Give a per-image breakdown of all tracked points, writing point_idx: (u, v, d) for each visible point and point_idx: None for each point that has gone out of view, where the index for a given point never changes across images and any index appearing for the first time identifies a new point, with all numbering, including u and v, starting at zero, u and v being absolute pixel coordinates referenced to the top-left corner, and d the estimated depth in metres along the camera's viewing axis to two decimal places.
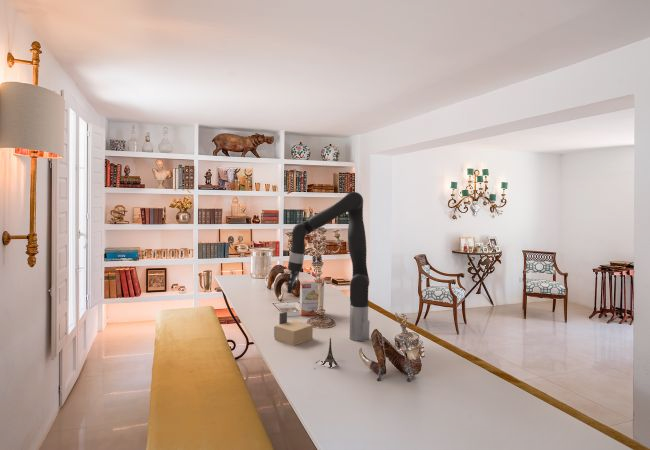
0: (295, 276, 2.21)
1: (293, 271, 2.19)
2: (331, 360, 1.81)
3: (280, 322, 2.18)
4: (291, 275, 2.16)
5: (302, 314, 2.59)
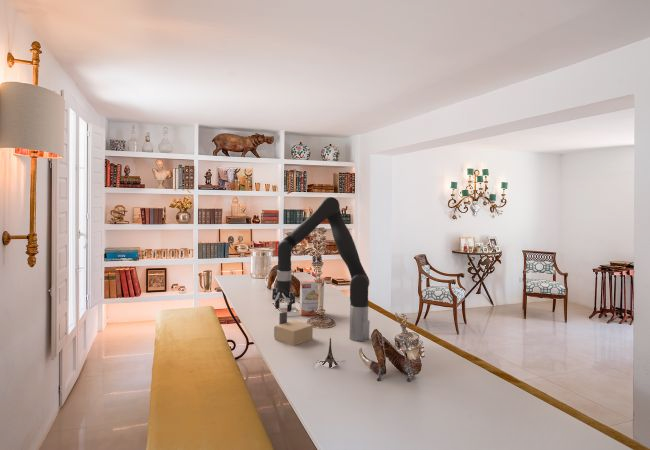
0: None
1: (289, 289, 2.17)
2: (331, 360, 1.81)
3: (280, 322, 2.18)
4: (293, 293, 2.15)
5: (302, 314, 2.59)
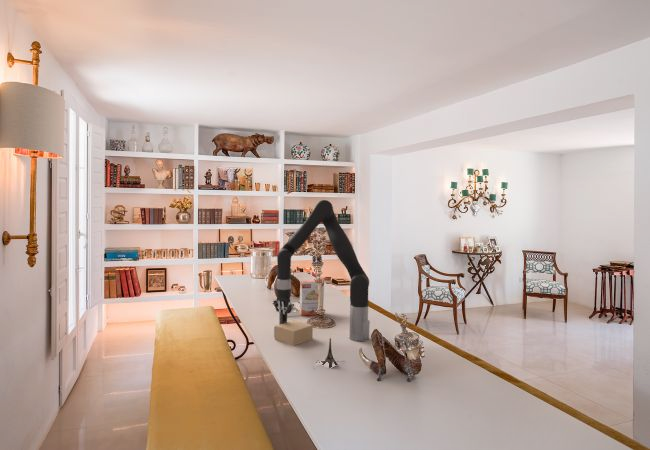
0: None
1: (289, 297, 2.17)
2: (331, 360, 1.81)
3: (280, 322, 2.18)
4: (292, 305, 2.16)
5: (302, 314, 2.59)
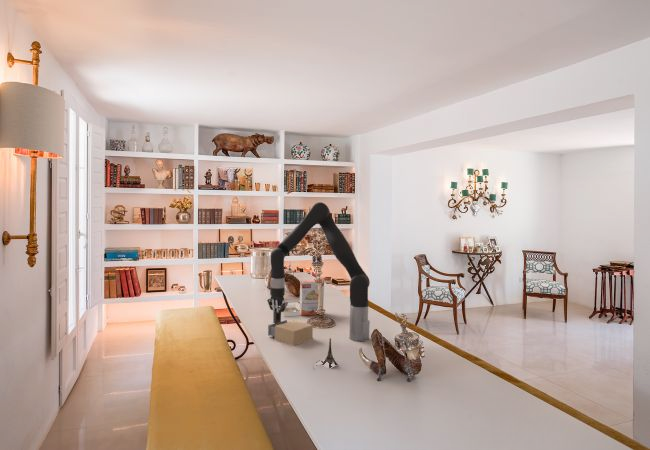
0: None
1: (282, 296, 2.20)
2: (331, 360, 1.81)
3: (274, 320, 2.21)
4: (286, 304, 2.19)
5: (302, 314, 2.59)
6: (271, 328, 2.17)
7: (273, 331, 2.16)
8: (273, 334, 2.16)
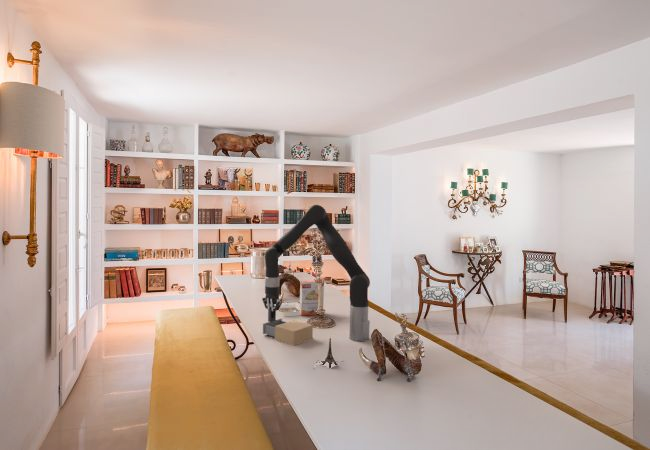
0: None
1: (277, 295, 2.22)
2: (331, 360, 1.81)
3: (269, 319, 2.24)
4: (280, 303, 2.21)
5: (302, 314, 2.59)
6: (266, 326, 2.20)
7: (268, 329, 2.19)
8: (268, 332, 2.19)
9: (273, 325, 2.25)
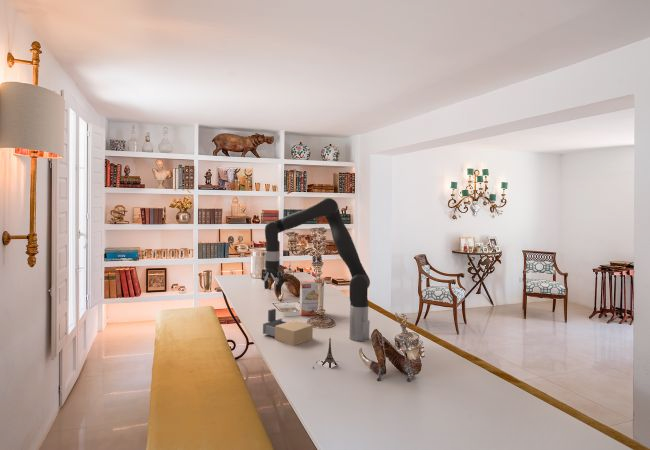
0: None
1: (277, 269, 2.22)
2: (330, 360, 1.81)
3: (269, 319, 2.24)
4: (281, 273, 2.20)
5: (302, 314, 2.59)
6: (266, 326, 2.20)
7: (268, 329, 2.19)
8: (268, 332, 2.19)
9: (273, 325, 2.25)
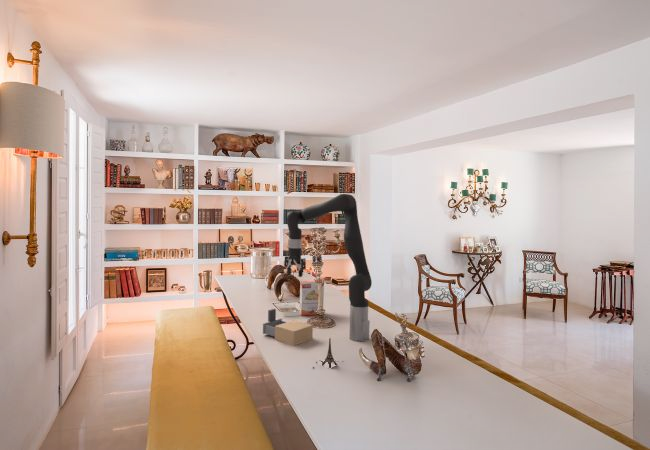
0: None
1: (300, 256, 2.35)
2: (330, 360, 1.81)
3: (269, 319, 2.24)
4: (304, 259, 2.33)
5: (302, 314, 2.59)
6: (266, 326, 2.20)
7: (268, 329, 2.19)
8: (268, 332, 2.19)
9: (273, 325, 2.25)
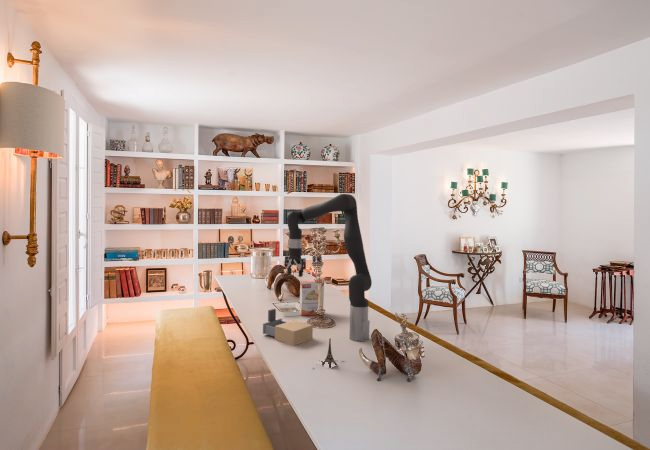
0: None
1: (300, 256, 2.35)
2: (330, 360, 1.81)
3: (269, 319, 2.24)
4: (304, 259, 2.33)
5: (302, 314, 2.59)
6: (266, 326, 2.20)
7: (268, 329, 2.19)
8: (268, 332, 2.19)
9: (273, 325, 2.25)
